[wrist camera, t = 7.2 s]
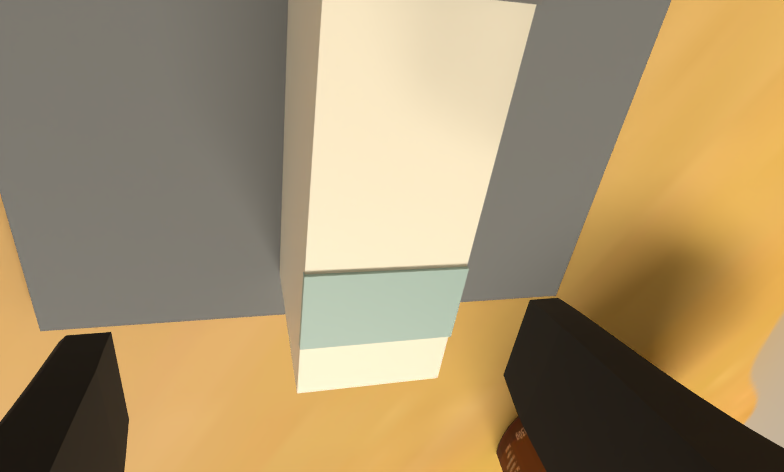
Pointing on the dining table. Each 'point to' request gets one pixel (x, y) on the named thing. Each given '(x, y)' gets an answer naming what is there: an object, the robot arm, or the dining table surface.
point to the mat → (259, 152)
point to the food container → (518, 451)
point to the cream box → (387, 176)
